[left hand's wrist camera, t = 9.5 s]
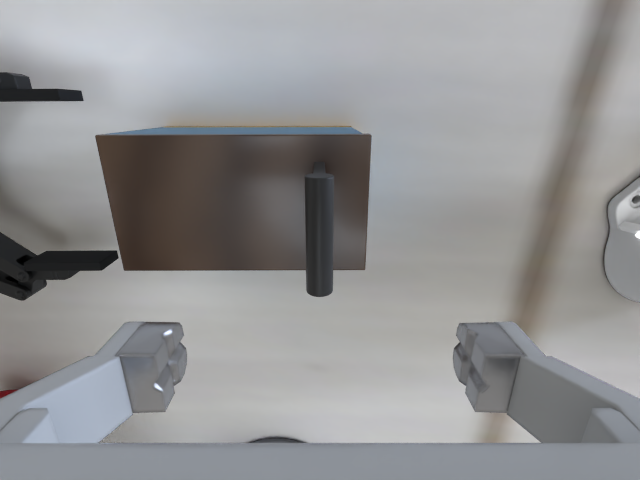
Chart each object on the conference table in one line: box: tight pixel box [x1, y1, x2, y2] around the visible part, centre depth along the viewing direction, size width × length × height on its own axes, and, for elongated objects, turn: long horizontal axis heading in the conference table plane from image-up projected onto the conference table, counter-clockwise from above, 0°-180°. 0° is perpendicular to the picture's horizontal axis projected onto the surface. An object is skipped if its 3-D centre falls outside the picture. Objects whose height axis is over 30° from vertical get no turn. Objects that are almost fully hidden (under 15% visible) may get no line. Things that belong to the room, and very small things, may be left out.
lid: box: [95, 134, 371, 297], centre depth 22 cm, size 18×10×8 cm, turn 90°
